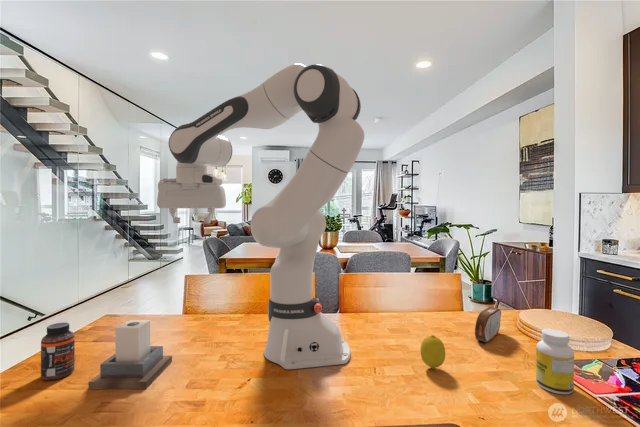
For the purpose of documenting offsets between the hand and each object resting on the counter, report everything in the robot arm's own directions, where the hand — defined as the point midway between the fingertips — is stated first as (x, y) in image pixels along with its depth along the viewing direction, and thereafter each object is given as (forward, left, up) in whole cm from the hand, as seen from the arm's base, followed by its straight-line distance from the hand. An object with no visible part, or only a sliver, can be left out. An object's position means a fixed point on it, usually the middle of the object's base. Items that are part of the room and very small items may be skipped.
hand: (192, 223), depth 100 cm
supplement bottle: (+20, +27, -33) cm, 47 cm away
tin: (-89, +7, -33) cm, 95 cm away
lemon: (-66, +25, -33) cm, 78 cm away
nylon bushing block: (+3, +27, -32) cm, 42 cm away
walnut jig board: (+3, +27, -33) cm, 43 cm away
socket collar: (+3, +27, -32) cm, 42 cm away
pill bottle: (-89, +33, -33) cm, 101 cm away
